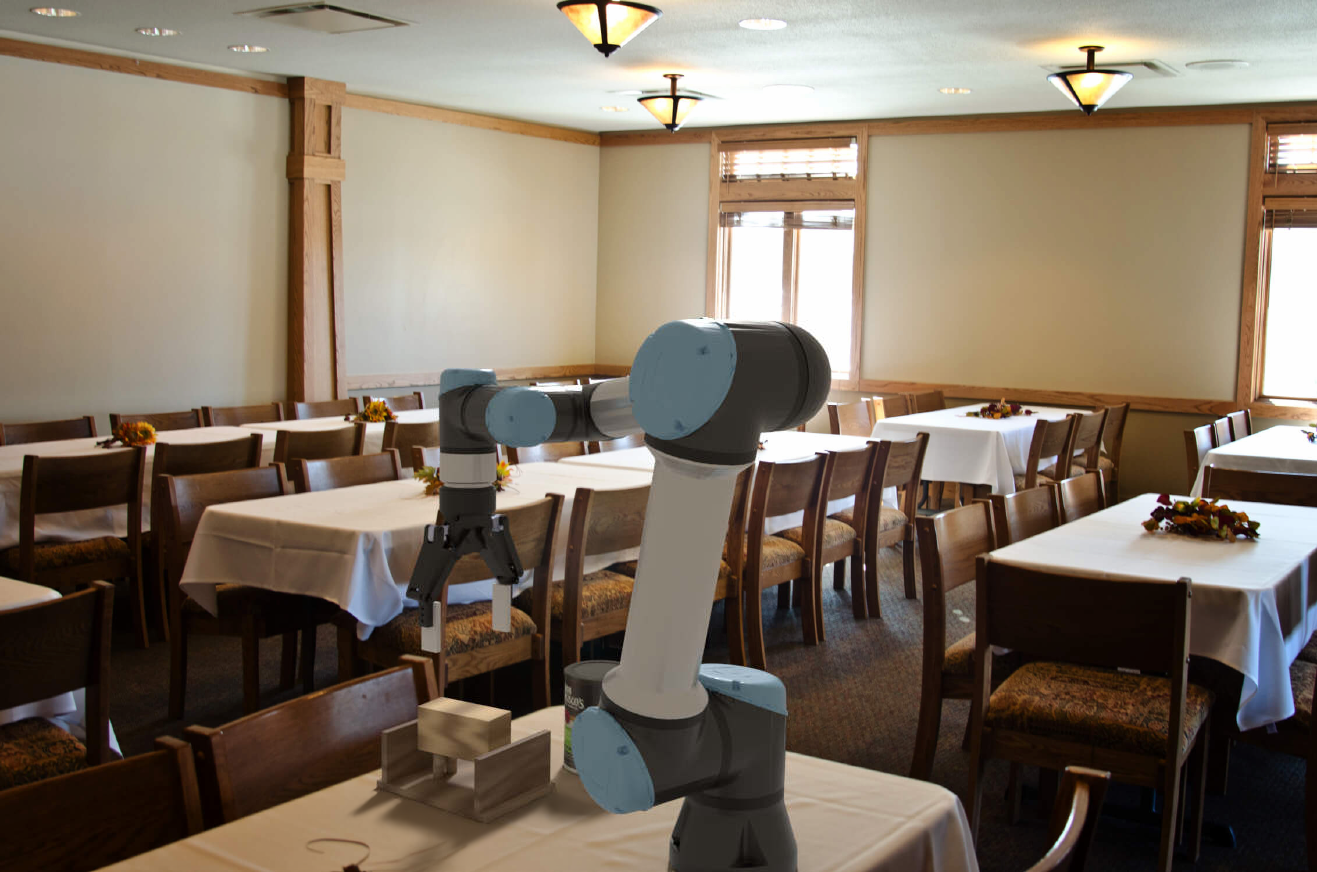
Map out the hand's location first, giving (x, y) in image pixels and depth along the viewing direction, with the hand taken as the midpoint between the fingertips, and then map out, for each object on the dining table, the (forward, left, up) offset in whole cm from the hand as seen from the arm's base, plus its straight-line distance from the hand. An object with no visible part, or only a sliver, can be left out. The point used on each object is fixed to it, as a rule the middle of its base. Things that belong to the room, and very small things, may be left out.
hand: (467, 640), depth 159 cm
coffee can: (-9, -18, -21) cm, 29 cm away
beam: (+1, 0, -16) cm, 16 cm away
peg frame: (0, 0, -21) cm, 21 cm away
